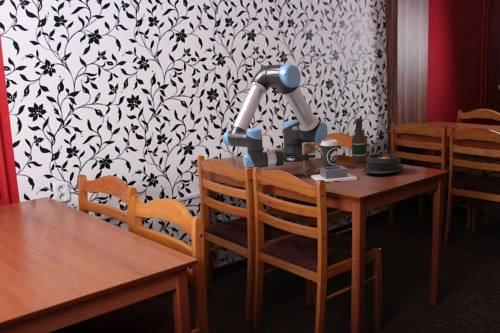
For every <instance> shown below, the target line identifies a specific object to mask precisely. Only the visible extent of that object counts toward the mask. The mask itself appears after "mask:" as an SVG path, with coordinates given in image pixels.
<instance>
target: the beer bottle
mask: <svg viewBox="0 0 500 333" xmlns="http://www.w3.org/2000/svg"><path fill="white" fill-rule="evenodd" d="M363 132H364V131H363V119H362V118H356V119H355V132H354V134H353V136H352V140H351V162H352V164H355V163H356V165H357V164H359V165H361V164H366V163H367V161H366V159H367V138H366V136H365V135H364V133H363Z"/></svg>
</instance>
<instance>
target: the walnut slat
mask: <svg viewBox="0 0 500 333" xmlns="http://www.w3.org/2000/svg"><path fill="white" fill-rule="evenodd" d="M316 152H317V150H316V143H314V142H310V143H306V142H304V143H302V155H303V154H310V153H316ZM302 175H304V176H311V175H317V158H316V159H309V161H308V160H304V161H302Z"/></svg>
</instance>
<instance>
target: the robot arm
mask: <svg viewBox="0 0 500 333" xmlns="http://www.w3.org/2000/svg"><path fill="white" fill-rule="evenodd" d="M301 79H302V77H301V72H300V69H299V68H298V67H297V66H296V65H295V64H289V63H284V64H267V65H265V66H263V67H262V68H260V69H258V71H257V72H256V73H255V75H254V76H253V77H252V79H251V81H250V83H249V90H248V92H247V94H246V97H245V99H244V100H243V103H242V105H241V108H239V109H240V110H239V112H238V114H237V116H236V118H235V120H234V123H233V124H232V127H231V129H230V130H227V131H226V132H224V134H223V136H222V141H223V143H224V144H225V145H226V146H228V147H233V148H234V147H239V148H240V147H241V148H247V152H246V153H244V154H243V157H242V162H243V166H244V167H245V168H246V169H248V168H247V167H259V168H260V169H261V168H269V169H270V168H271V167H282V166H284V162H287V163H295V162H303V161H304V160H308V161H309V159H316V160H317V159H321V158H322V152H319V151H317V150H316V153H310V154H303V155H302V143H310V142H314V143H315V145H316V144H321V142H322V140H327V137H328V126H327V123H326V122H324V121H322V122H321V121H320V119H319V118H318V117H317V116H316V115H314V113H313V111H312V110H311V108H310V105H309V103H308V102H307V100H306V98H305V96H304V94H303V92H302V91H301V88H300V84H301ZM270 88H277V91H278V92H279V93H280V94H281V95H284V97H285V99H286V100H287V102H288V104H289V106H290V108H291V109H292V111H293V113H294V115H295V117H296V119H292V120H285V121H284V122H283V127H282V128H283V129H282V131H283V149H282V150H275V151H273V150H270V151H263V150H264V149H263V134H262V129H261V128H259V127H254V128H253V127H252V128H249V127H250V125H251V123H252V121H253V118H254V115H255V113H256V111H257V109H258V107H259V104H260V102H261V100H262V98H263V96H264V95H265V94H267V91H268V90H269V89H270ZM259 168H258V169H259Z"/></svg>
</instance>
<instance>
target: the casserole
mask: <svg viewBox="0 0 500 333" xmlns="http://www.w3.org/2000/svg"><path fill="white" fill-rule="evenodd" d="M401 161H402V160H401V158H400V156H399V155H398V154H395V153H373V154H369V155H367V157H366V163H367V166H365V167H364V168H363V169H362V173H365V174H371V175H372V174H373V175H392V174H396V173H398V172H401V171H402V170H403V168H405V166H404V165H403V164H400V162H401Z"/></svg>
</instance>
